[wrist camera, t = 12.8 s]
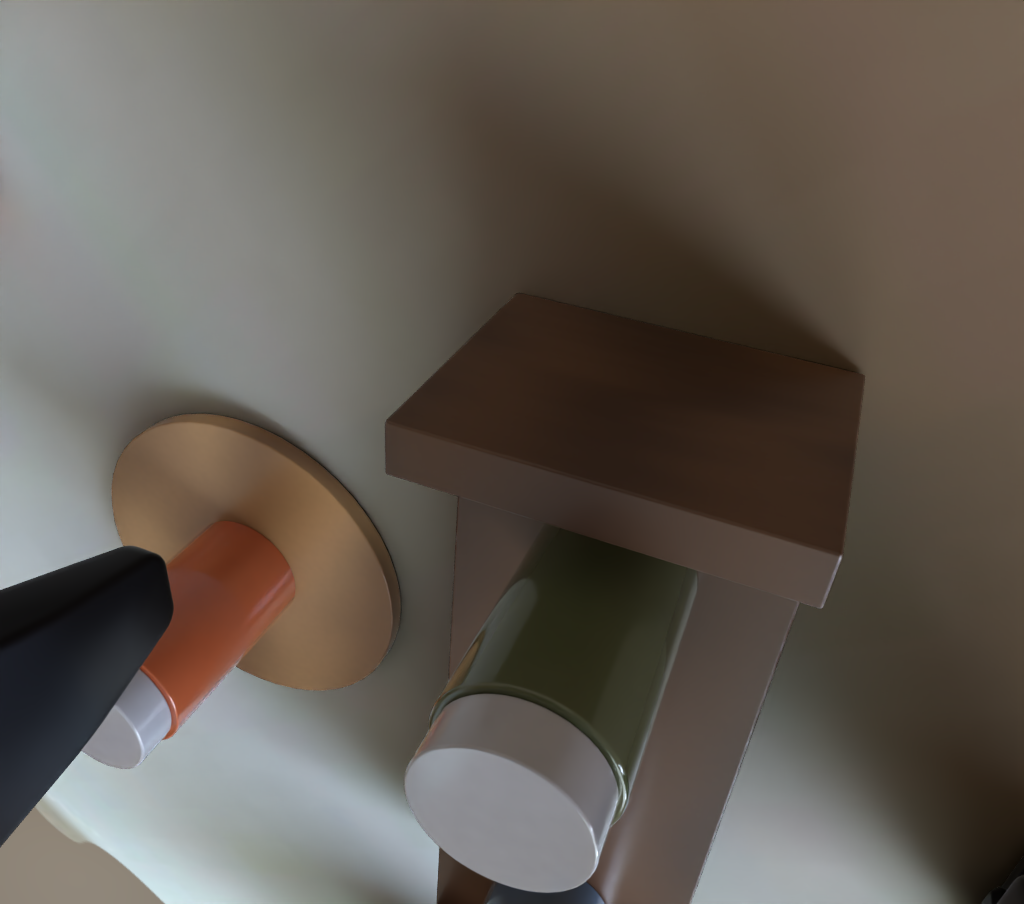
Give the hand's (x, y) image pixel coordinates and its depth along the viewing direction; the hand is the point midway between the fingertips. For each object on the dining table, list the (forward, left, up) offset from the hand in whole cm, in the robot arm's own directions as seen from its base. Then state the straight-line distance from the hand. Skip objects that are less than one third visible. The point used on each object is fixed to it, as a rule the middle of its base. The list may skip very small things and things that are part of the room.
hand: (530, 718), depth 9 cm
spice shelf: (+1, +13, -12) cm, 18 cm away
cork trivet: (+13, +13, -12) cm, 23 cm away
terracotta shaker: (+13, +13, -12) cm, 22 cm away
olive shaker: (+1, +6, -10) cm, 11 cm away
